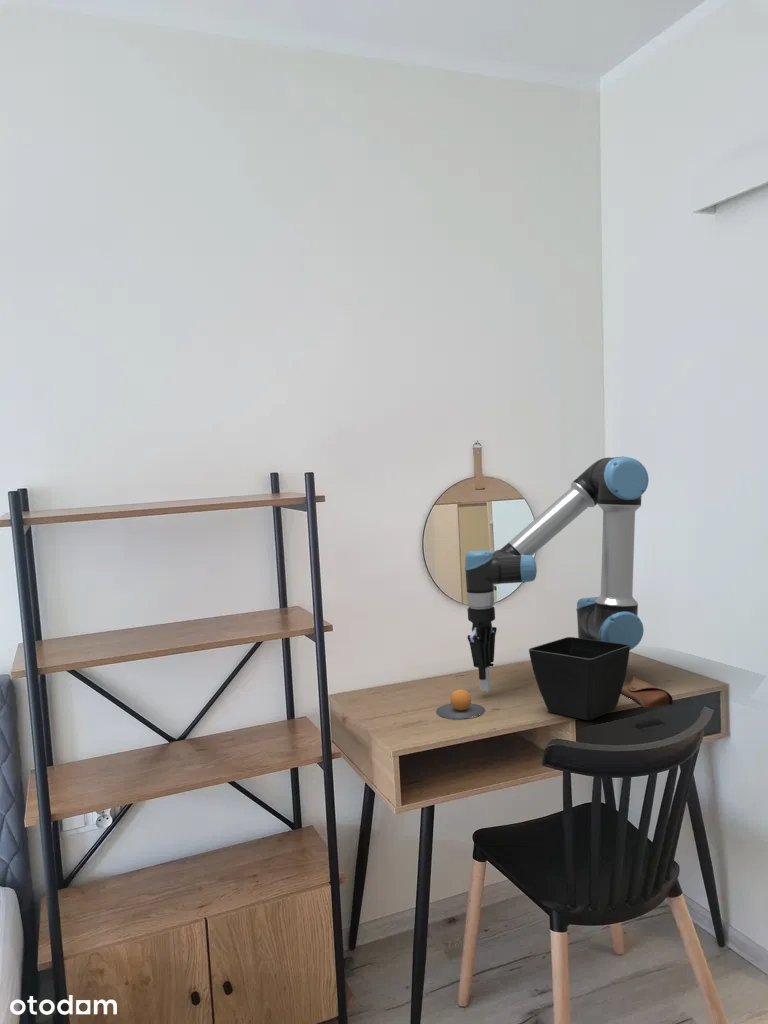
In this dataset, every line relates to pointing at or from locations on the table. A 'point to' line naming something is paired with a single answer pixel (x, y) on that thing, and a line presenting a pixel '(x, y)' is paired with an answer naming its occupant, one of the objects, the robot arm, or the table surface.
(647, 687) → the sunglasses case
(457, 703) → the ball
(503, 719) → the table surface
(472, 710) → the disc
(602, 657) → the flower pot
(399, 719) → the table surface
